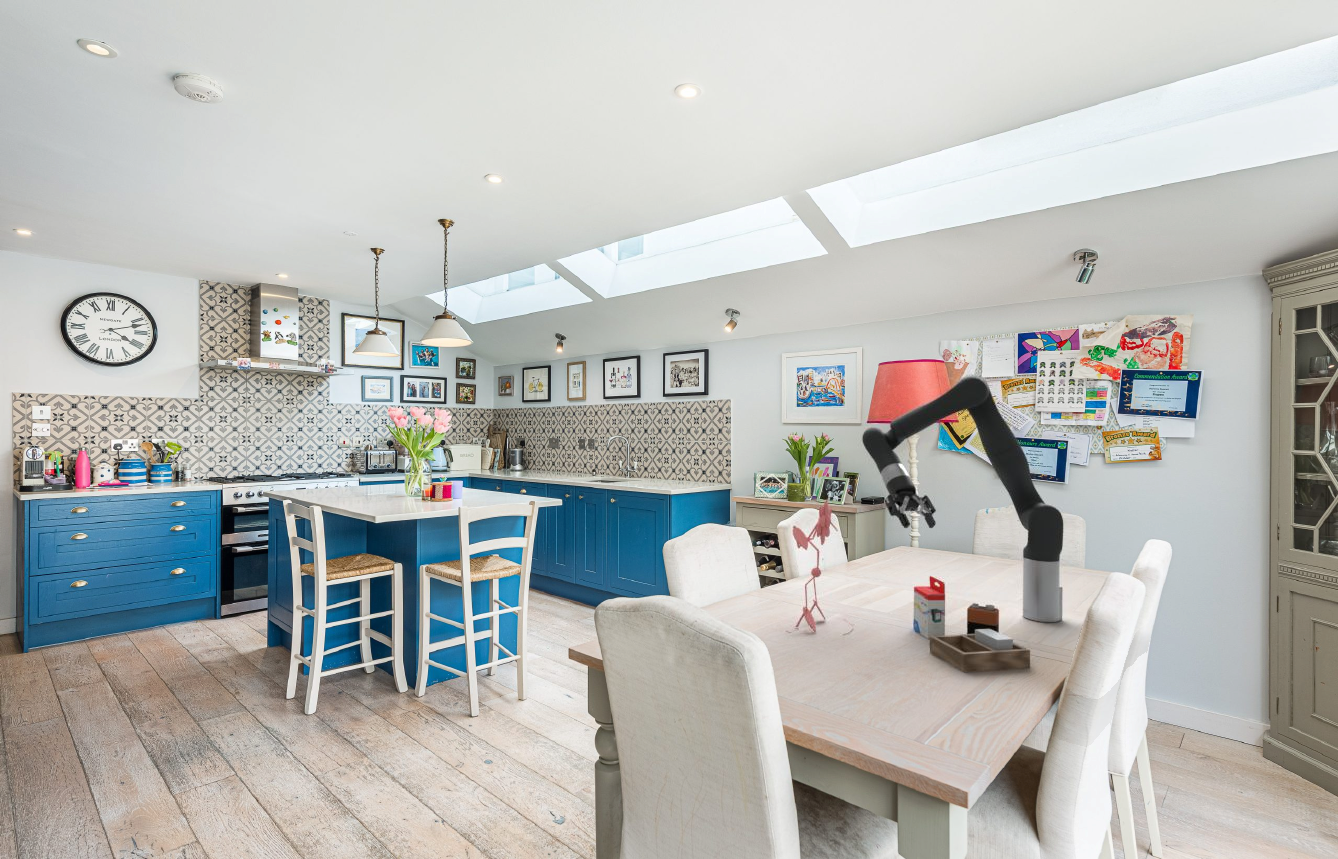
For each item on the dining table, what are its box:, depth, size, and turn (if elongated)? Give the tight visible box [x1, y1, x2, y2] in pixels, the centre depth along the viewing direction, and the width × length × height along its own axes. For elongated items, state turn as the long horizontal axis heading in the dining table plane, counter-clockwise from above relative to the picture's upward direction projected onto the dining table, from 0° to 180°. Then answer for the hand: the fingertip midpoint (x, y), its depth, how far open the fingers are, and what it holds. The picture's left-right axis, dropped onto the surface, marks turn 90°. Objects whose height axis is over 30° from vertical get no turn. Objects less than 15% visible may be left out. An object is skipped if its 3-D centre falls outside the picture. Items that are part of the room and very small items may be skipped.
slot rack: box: [929, 633, 1031, 673], centre depth 153 cm, size 17×13×4 cm
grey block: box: [975, 629, 1014, 651], centre depth 154 cm, size 4×8×6 cm, turn 11°
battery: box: [966, 602, 1000, 634], centre depth 165 cm, size 4×7×10 cm, turn 55°
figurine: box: [785, 498, 854, 636], centre depth 178 cm, size 15×26×35 cm, turn 151°
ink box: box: [912, 575, 946, 640], centre depth 173 cm, size 8×5×15 cm, turn 5°
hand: (920, 526), depth 186 cm, fingers open, 8 cm apart
